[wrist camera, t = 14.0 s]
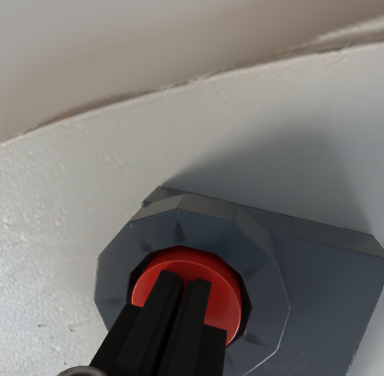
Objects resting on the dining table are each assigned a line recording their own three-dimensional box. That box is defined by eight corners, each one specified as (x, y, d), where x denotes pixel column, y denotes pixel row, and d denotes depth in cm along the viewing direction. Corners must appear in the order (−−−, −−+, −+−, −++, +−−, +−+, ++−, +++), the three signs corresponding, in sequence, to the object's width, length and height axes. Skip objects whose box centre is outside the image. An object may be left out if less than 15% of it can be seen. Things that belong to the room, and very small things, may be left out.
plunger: (154, 226, 12) (138, 248, 10) (252, 251, 12) (252, 277, 10) (141, 308, 13) (124, 340, 11) (230, 333, 13) (227, 369, 11)
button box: (143, 164, 14) (104, 191, 10) (380, 217, 13) (431, 268, 9) (116, 360, 17) (78, 434, 14) (303, 416, 16) (318, 514, 13)
